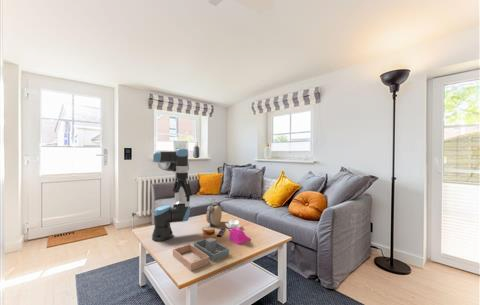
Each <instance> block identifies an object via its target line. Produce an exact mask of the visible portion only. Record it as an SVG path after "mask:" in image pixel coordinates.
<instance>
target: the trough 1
mask: <svg viewBox="0 0 480 305" xmlns="http://www.w3.org/2000/svg"><path fill="white" fill-rule="evenodd" d="M188 251H190V252H192V253H193V254H195V255H196V256H197V258H200V259H198V260H195V261H192V262H191V261H189V259H187V258H185V257H184V256H183V253H185V252H188ZM172 257H173V258H175V259H176V260H177V261H178V262H180V263H181V264H182V265H183V266H184V267H186V268H187V270H189V271H191V272H192V271H194V270H196V269H199V268H201V267H205V266H206V265H209V264H210V259H209V256H208V255H206V254H205V253H203V252H202V251H200V250H199V249H197V248H196V247H194V244H193V245H192V244H191V243H188V244H185V245H183V246H178V247H175V248H173V249H172Z"/></svg>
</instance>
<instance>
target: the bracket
mask: <svg viewBox="0 0 480 305" xmlns="http://www.w3.org/2000/svg"><path fill="white" fill-rule="evenodd" d="M250 240H251V237H248V236H247V235H246V233H245V232H244V230H243V229H241V228H234V229H232V230H229V241H231V242H233V243H235V244H237V245H241V244H244V243H246V242H248V241H250Z"/></svg>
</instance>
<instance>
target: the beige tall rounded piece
mask: <svg viewBox="0 0 480 305" xmlns="http://www.w3.org/2000/svg"><path fill="white" fill-rule="evenodd" d="M213 200H214V202H213ZM222 210H223V209H222V208H221V206H220V205H219V204H218V203H217V202H216V200H215V198H212V200H211V202H210V205H208V207H207V210H206V213H205V214H206V215H205V216H206V217H205V218H206V222H207V223H208V224H210V226H215V227H216V226H219V225H220V224H221V221H222V217H223V216H222V214H223V213H222Z"/></svg>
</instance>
